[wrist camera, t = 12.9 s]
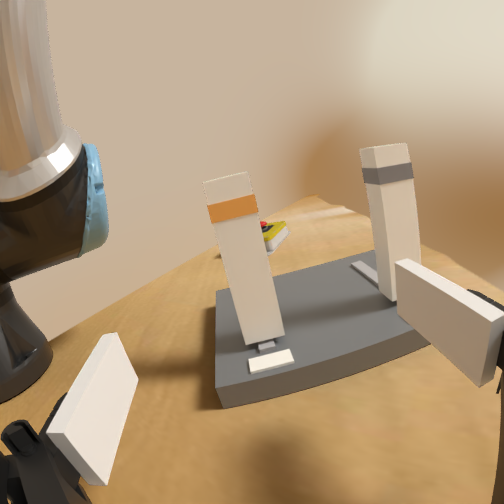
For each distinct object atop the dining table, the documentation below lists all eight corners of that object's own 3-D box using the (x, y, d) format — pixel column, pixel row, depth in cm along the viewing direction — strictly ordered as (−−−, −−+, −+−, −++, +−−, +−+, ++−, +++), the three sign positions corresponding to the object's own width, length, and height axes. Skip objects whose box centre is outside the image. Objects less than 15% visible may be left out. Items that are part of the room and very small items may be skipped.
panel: (467, 326, 21) (470, 301, 20) (223, 408, 20) (213, 384, 20) (376, 264, 38) (374, 247, 38) (220, 306, 38) (215, 288, 37)
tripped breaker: (285, 335, 23) (249, 171, 20) (245, 345, 23) (201, 183, 20) (279, 319, 26) (245, 171, 23) (242, 329, 26) (203, 181, 22)
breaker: (422, 291, 24) (407, 142, 21) (392, 302, 24) (372, 147, 20) (407, 280, 26) (390, 144, 23) (378, 290, 26) (357, 149, 23)
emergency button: (287, 212, 65) (264, 233, 52) (292, 233, 66) (270, 259, 53) (246, 219, 68) (214, 240, 55) (251, 239, 70) (221, 264, 56)
